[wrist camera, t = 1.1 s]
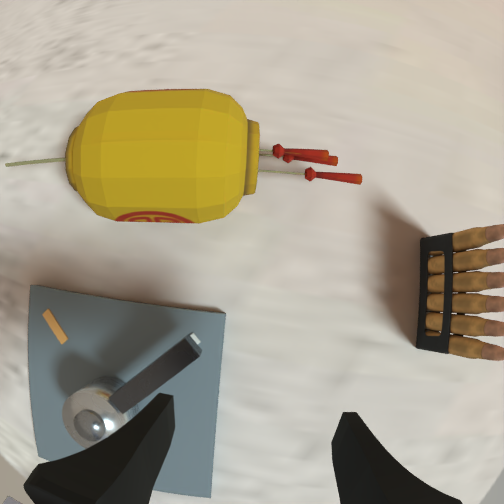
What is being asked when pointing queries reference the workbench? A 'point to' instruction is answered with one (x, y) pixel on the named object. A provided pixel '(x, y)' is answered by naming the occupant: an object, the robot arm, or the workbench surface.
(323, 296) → the workbench surface
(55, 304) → the mounting plate
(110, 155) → the lantern
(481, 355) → the ammunition clip
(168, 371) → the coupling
